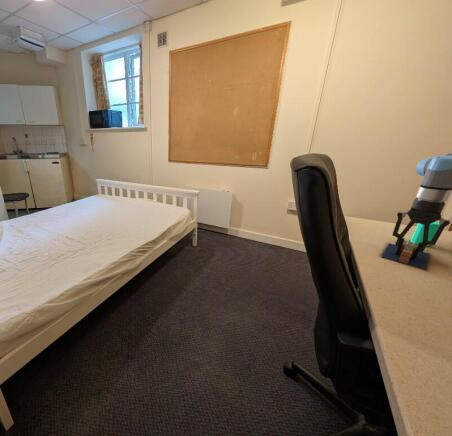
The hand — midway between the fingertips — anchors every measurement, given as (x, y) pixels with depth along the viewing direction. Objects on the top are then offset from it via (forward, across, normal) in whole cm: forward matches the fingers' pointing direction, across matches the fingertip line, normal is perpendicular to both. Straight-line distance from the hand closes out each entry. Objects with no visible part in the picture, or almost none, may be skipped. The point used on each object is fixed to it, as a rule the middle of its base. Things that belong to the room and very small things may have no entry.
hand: (405, 255), depth 88 cm
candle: (+1, -3, -23) cm, 23 cm away
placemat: (+1, 0, -2) cm, 2 cm away
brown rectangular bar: (0, 0, 0) cm, 0 cm away
